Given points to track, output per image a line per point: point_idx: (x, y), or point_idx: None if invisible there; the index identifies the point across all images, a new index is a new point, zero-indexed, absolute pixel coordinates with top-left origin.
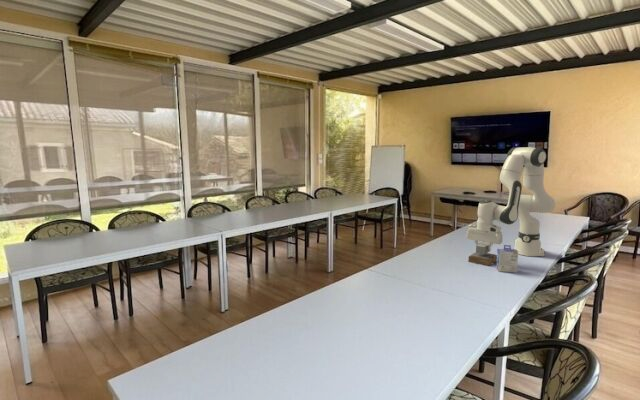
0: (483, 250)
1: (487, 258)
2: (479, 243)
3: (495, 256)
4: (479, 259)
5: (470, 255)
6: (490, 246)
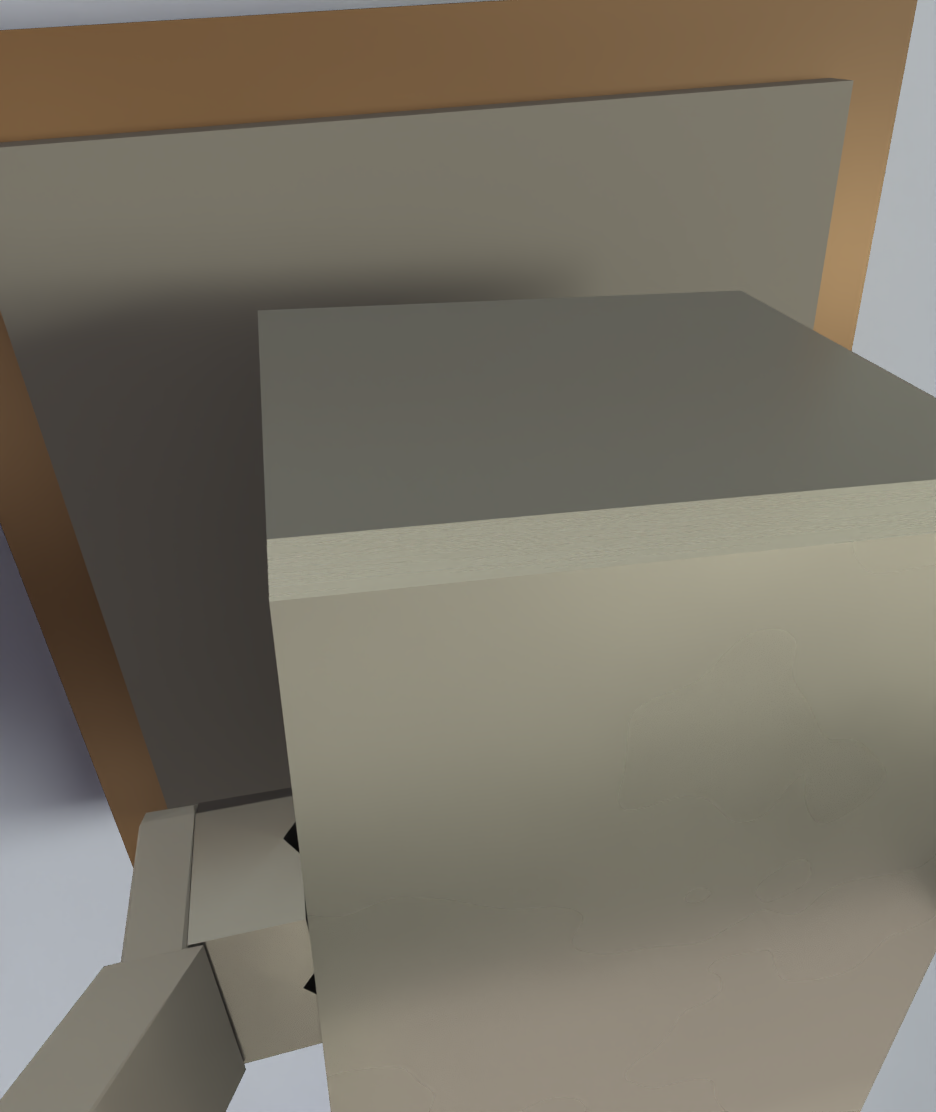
0: (328, 390)
1: (6, 190)
2: (916, 932)
3: (116, 812)
4: (369, 10)
5: (867, 182)
6: (54, 1032)
